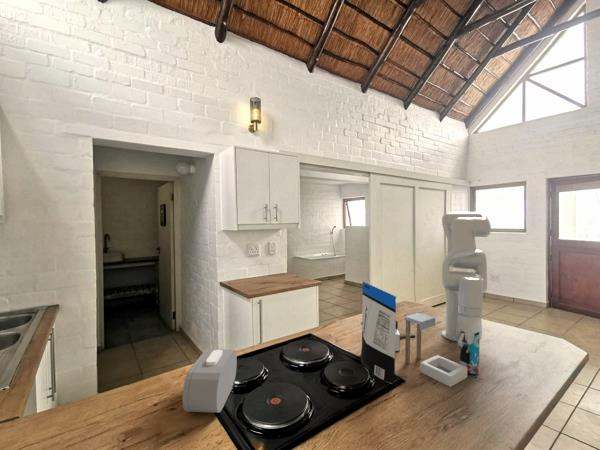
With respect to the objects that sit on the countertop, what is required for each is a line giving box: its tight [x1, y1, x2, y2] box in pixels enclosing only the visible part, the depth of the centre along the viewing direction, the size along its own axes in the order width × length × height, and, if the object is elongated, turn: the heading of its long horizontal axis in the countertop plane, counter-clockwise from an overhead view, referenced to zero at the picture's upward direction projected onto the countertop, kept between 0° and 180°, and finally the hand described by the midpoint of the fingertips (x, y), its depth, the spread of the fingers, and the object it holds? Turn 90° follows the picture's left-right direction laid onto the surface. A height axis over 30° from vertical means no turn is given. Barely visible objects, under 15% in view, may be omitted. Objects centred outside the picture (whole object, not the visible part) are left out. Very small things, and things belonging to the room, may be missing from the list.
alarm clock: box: [181, 348, 238, 414], centre depth 84 cm, size 21×10×13 cm, turn 178°
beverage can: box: [459, 333, 480, 376], centre depth 102 cm, size 6×6×15 cm
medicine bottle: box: [395, 320, 401, 352], centre depth 122 cm, size 7×7×12 cm
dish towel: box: [361, 321, 417, 340], centre depth 142 cm, size 17×23×2 cm
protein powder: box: [360, 281, 397, 387], centre depth 104 cm, size 10×24×30 cm, turn 13°
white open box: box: [404, 312, 468, 388], centre depth 103 cm, size 11×18×18 cm, turn 33°
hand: (469, 359), depth 102 cm, fingers closed on beverage can, 5 cm apart
